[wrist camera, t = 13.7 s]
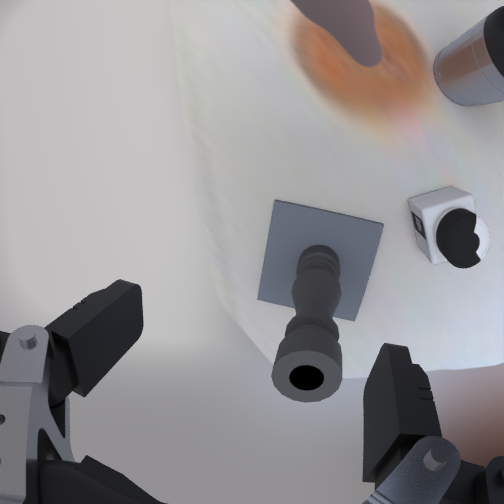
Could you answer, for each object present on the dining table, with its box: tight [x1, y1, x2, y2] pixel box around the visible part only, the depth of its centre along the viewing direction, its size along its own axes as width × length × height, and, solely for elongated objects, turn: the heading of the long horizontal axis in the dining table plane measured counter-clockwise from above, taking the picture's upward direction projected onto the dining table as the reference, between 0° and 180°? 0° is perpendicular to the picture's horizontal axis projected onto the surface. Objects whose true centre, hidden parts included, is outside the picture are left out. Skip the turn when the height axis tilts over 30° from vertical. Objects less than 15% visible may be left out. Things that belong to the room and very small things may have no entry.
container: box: [408, 186, 490, 268], centre depth 35 cm, size 8×8×13 cm
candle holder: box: [271, 245, 342, 402], centre depth 35 cm, size 6×6×25 cm
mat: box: [257, 200, 384, 321], centre depth 47 cm, size 16×16×1 cm
